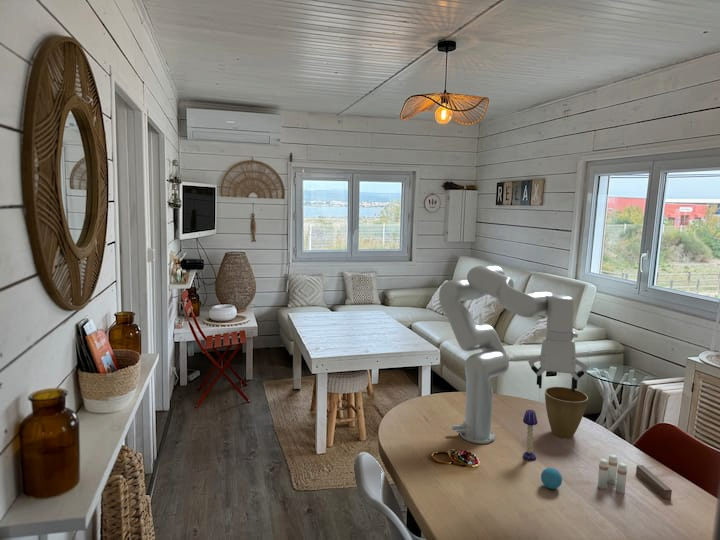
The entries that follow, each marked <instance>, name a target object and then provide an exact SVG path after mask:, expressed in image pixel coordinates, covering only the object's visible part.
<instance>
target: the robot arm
mask: <svg viewBox="0 0 720 540" xmlns="http://www.w3.org/2000/svg"><path fill="white" fill-rule="evenodd" d="M514 286H515V284H514V280H513V278H511V277H510V276H508V275H505V271H504V270H503V269H502V268H501V266H498V265H495V264H488V265H487V264H486V265H485V264H484V265H477V266H474V267H472V268H471V269H470V270H468V272H467V274H466V278H456V279H451V280H448V281H445V282H444V283H443V284H442V285H441V287H440V289H439V292H438V299H439V304H440V306H441V307H440V308H441V309H442V311H443V312H444V314H445V316H446V318H447V320H448V322H449V325H450V327H451V329H452V331H453V334H454V337H455V339H456V341H457V343H458V346H459V347H460V349H461V351H464V352H474V351H479V350H481V351H482V352H477V353H473V354H471V355H469V356H468V357H467V358H466V360H465V362H464V373H465V381H466V383H465V384H466V386H465V412H464V413H465V414H464V421H462V423H460V424H452V425H451V430H452V431H456V433H459V434H460V435H459V436H460V437H461V438H462V439H463V440H465V441H467V442H470V443H473V444H477V445H478V444H481V445H482V444H483V445H485V444H490V443H492V442H494V441H495V438H496V433H495V432H494V431H492V416H493V397H494V390H493V389H494V388H493V386H492V384H491V382H490V379H491V378H495V377H498V376H500V375H504V374H505V373H507V372H508V370H509V368H510V367H509V366H510V363H509V358H508V354H507V352H506V349H505V348H504V345H503V344H502V341H501V339H500V337H499V334H498V332H497V331H496V330H495V328H494V327H493V326H492V325H490V324H489V323H485V322H482V323H475V320H474V318H473V317H472V314H471V312H470V311H469V309H468V308H467V307H466V306H465V305H463V303H462V302H466V301H473V300H478V299H480V298H482V297H485V296H486V295H488V296H490V297H493V298H494V299H497V300H498V302H499V304H500V305H501V306H502V307H503V308H504V309H505V310H507V311H509V312H510V313H513V314H516V315H517V316H519V317H522V318H533V317H539V316H540V317H541V316H546V329H545V330H546V333H545V337H543V339H542V342H541V343H542V344H541V350H540V355H538V356H536V357H532V358H530V359H528V364H529V367H530V368H531V370H532V372H533V373H534V374H535V375H536V385H537V386H538V389H542V383H543V382H542V381H543V376H542V375H543V373H544V372H554V373H563V374H570V375H571V376H572V377H571V385H570V386H571V389H572V392H575V390H578V380H579V379H580V378H582V377H583V376H584V375H585V373H586V372H587V370H589V366H588V364H586V363H585V362H582V361H581V360H579V359H577V358H576V357H577V356H576V344H575V338H578V337H579V336H578V335H579V334H578V333H577V332H574V318H575V317H574V315H575V314H574V313H575V300H574V298H573V297H572V296H568V295H562V294H557V293H553V292H550V291H542V290H541V291H534V292H527V293H526V292H523V291H520V290H517V289H515V287H514ZM538 362H539V363H540V364H539V365H540V366H539V368H537V367H536V365H535V363H538ZM576 365H577V366H579V367H580V370H579V371H578V372H577V371H576Z"/></svg>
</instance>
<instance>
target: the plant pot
mask: <svg viewBox="0 0 720 540" xmlns="http://www.w3.org/2000/svg"><path fill="white" fill-rule="evenodd" d="M544 398H545V399H544V400H545V408H546V409H545V410H546V414H547V420H548V423H549V426H550V427H549V428H550V430H551V434H553V436H555V437H557V438H560V439H565V438H566V439H567V440H568V439H572V438H573V437H574V435H575V434H576V432H577V430H578V428H579V426H580V424H581V422H582V419H583V416H584V413H585V411H586V406H587V404H588V400H589V397H588V395H587V394H586V393H584V392H583V391H580V390H578V389H575V392H572V389H571V388H570V387H564V386H550V387H547V388H545V389H544Z"/></svg>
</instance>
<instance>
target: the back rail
mask: <svg viewBox="0 0 720 540" xmlns="http://www.w3.org/2000/svg"><path fill="white" fill-rule="evenodd" d="M635 469H636V470H635V475H636V476H637V477H639V478H640V479H641V480H642V481H643V482H644V483H645V484H646V485H647V486H649V487H650V488H651V489H652V490H653V491H654V492H655V493H656V494H658V495H659V496H660V497H661V498H662V499H663V500H668V501H669V500H672V494H673V492H672V491H673V490H672V489H671V487H669V486H668V485H667V484H666V483H664V482H663V481H662V480H661V479H659V478H658V477H657V475H655V474H654V473H653V472H651V471H650V470H649V469H648V468H647V467H646V466H644V465H643V464H641V465H640V464H639V465H637V464H636V468H635Z"/></svg>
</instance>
